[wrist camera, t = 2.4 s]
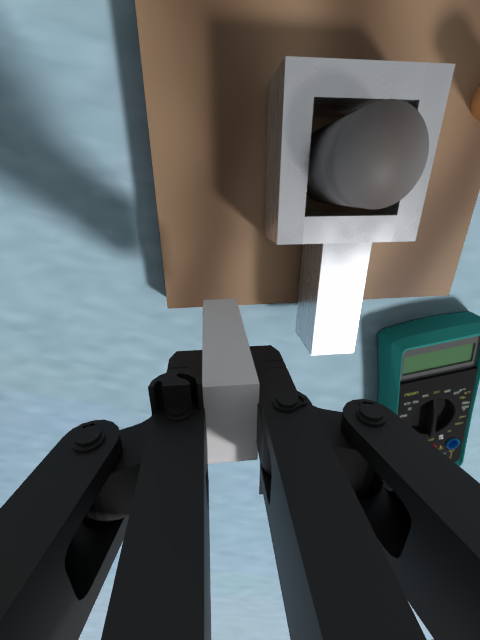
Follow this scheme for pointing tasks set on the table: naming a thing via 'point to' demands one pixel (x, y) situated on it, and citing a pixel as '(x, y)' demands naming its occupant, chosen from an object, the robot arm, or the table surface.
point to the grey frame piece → (339, 226)
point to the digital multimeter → (432, 377)
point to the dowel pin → (476, 104)
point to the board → (234, 137)
